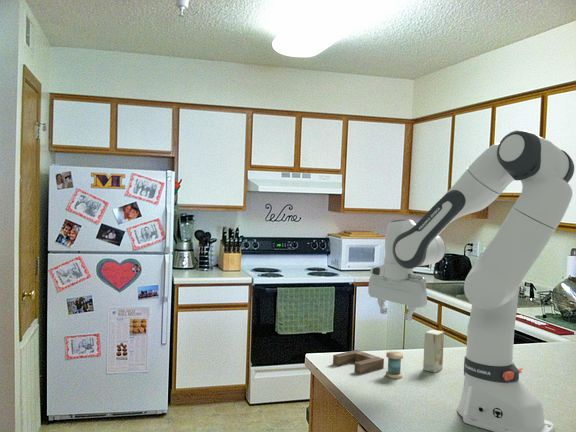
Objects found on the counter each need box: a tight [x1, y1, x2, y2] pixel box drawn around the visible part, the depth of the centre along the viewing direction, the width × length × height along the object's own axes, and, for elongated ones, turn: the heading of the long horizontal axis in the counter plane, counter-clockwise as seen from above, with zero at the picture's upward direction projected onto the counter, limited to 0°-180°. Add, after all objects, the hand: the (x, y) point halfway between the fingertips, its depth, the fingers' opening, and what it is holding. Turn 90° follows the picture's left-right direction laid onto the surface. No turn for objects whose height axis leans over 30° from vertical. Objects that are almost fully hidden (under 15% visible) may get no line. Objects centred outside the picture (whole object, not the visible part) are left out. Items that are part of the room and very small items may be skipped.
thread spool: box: [385, 350, 404, 380], centre depth 162 cm, size 5×5×7 cm
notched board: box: [332, 349, 385, 375], centre depth 171 cm, size 12×11×3 cm
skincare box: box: [422, 329, 445, 373], centre depth 170 cm, size 6×4×12 cm
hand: (395, 316), depth 162 cm, fingers open, 8 cm apart
